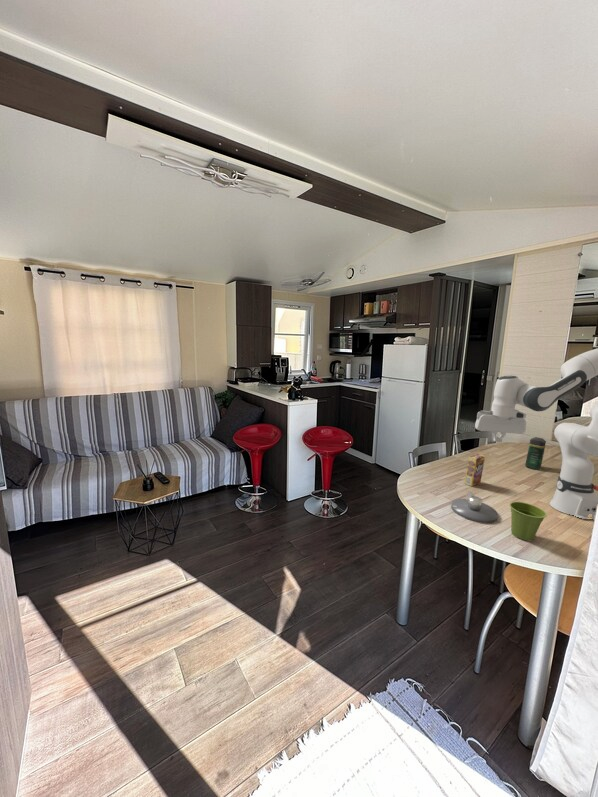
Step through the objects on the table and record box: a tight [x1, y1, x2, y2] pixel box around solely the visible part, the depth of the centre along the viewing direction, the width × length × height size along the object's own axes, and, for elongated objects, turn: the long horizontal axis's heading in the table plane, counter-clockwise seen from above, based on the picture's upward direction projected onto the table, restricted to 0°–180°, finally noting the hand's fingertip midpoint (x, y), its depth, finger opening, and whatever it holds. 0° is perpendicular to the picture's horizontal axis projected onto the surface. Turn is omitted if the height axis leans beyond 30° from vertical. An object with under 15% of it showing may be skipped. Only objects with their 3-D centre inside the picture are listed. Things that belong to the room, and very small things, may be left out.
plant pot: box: [509, 501, 548, 542], centre depth 127 cm, size 12×12×11 cm
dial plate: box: [450, 498, 499, 524], centre depth 144 cm, size 18×18×2 cm
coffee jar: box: [524, 436, 547, 470], centre depth 202 cm, size 10×8×19 cm
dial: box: [466, 491, 483, 511], centre depth 146 cm, size 10×5×4 cm, turn 171°
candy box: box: [464, 453, 486, 487], centre depth 173 cm, size 9×4×15 cm, turn 123°
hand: (497, 441), depth 151 cm, fingers closed
